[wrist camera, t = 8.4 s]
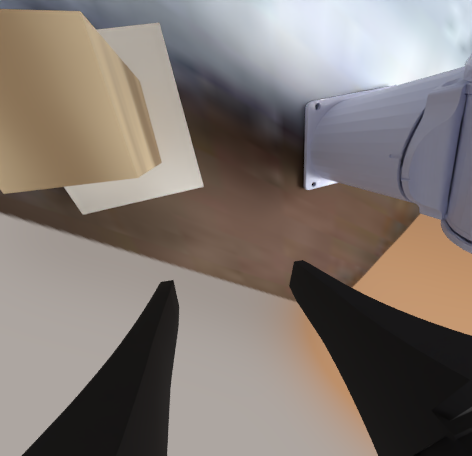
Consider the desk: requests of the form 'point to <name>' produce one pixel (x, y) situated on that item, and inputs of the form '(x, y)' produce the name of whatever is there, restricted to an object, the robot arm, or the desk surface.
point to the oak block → (67, 105)
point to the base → (162, 119)
